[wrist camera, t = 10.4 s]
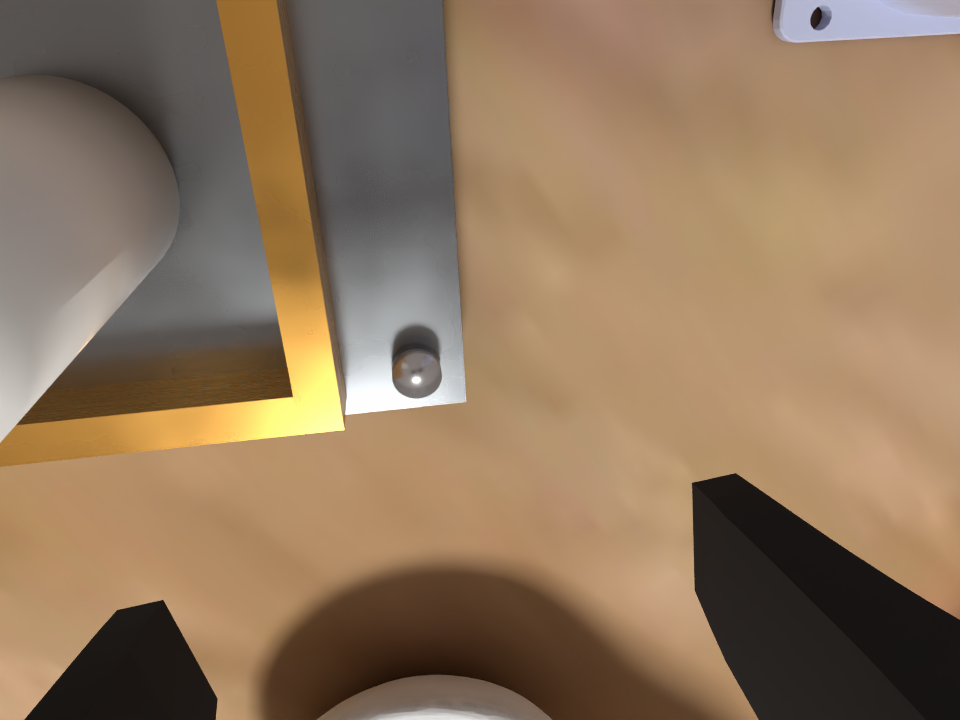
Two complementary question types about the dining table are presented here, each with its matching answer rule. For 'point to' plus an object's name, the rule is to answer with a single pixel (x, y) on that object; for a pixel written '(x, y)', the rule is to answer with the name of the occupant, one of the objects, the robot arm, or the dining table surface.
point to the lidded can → (71, 225)
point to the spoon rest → (436, 701)
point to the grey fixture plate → (263, 220)
